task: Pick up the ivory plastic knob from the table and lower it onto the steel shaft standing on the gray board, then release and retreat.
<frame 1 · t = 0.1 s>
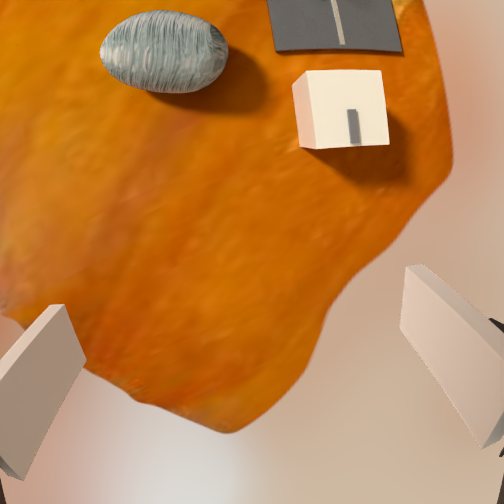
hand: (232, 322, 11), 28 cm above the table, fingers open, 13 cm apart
spool: (171, 60, 32), on the table
knob: (326, 113, 35), on the table
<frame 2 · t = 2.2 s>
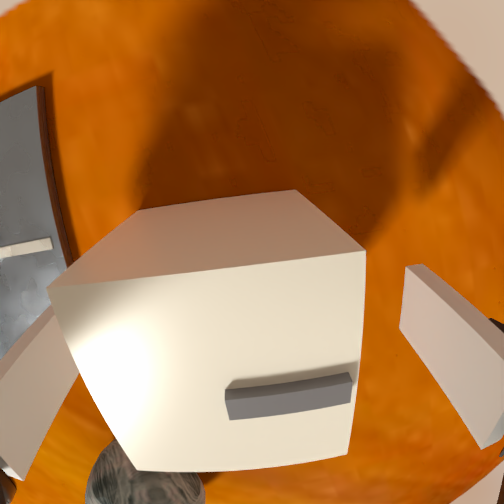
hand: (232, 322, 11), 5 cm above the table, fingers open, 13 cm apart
spool: (152, 466, 22), on the table
knob: (225, 273, 16), on the table
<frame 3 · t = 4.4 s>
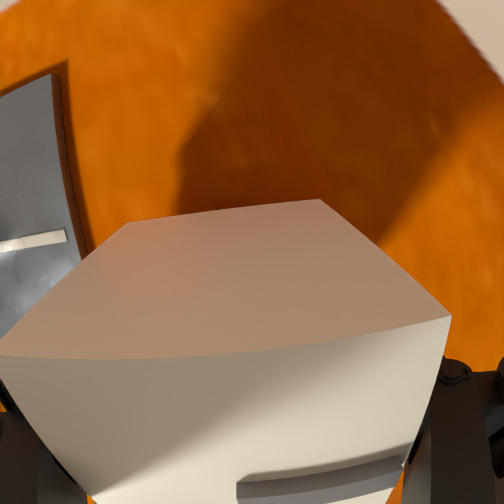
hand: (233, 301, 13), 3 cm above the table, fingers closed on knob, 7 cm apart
knob: (233, 299, 13), point 3 cm above the table, touching gripper
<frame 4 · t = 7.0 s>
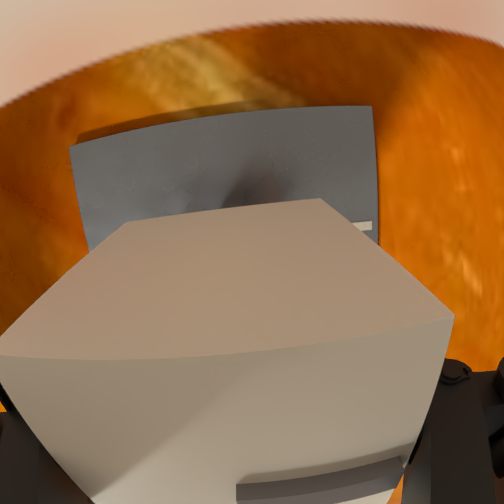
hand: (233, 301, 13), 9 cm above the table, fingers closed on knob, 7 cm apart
knob: (233, 298, 13), point 9 cm above the table, touching gripper
gray board: (231, 237, 22), on the table
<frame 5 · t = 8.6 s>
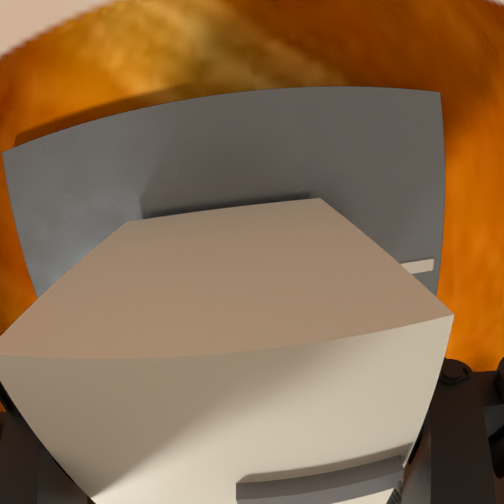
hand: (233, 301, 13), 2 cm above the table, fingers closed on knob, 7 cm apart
knob: (233, 298, 13), point 2 cm above the table, touching gripper
gray board: (232, 283, 15), on the table
when the fingers open (2 cm above the table, at t = 9.7 s): knob stays where it is, resting on gray board.
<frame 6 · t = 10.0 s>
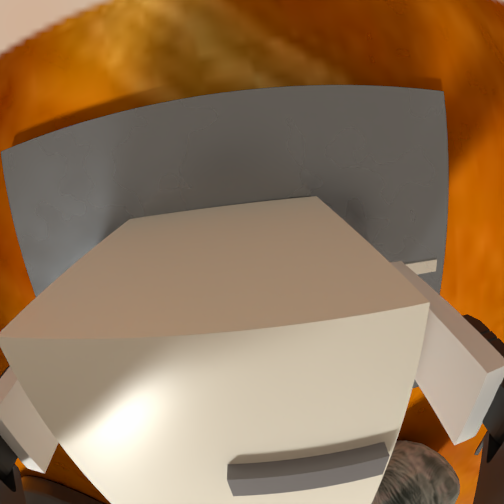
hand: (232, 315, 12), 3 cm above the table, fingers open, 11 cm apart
spool: (372, 473, 21), on the table
knob: (232, 293, 14), point 1 cm above the table, touching gray board
gray board: (233, 284, 14), on the table
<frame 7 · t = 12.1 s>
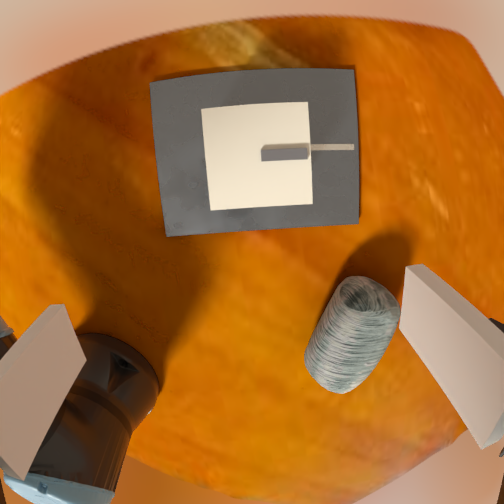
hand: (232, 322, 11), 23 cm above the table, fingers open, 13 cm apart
spool: (342, 317, 38), on the table
knob: (257, 149, 30), point 1 cm above the table, touching gray board
gray board: (257, 149, 31), on the table
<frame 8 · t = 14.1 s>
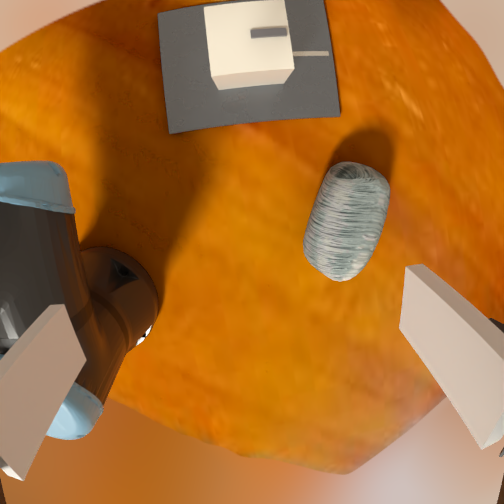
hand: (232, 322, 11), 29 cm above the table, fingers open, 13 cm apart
spool: (336, 212, 40), on the table
knob: (247, 57, 32), point 1 cm above the table, touching gray board
gray board: (247, 58, 33), on the table
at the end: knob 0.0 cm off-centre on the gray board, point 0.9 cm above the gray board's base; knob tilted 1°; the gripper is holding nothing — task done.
